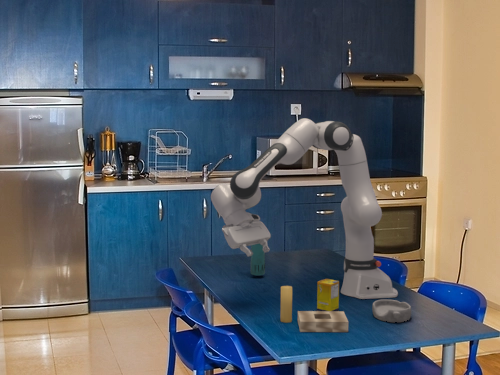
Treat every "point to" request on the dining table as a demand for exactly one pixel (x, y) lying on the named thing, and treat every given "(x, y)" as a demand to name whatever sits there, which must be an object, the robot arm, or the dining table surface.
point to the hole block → (322, 321)
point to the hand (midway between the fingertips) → (259, 253)
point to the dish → (391, 310)
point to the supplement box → (327, 295)
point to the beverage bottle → (257, 260)
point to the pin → (286, 304)
